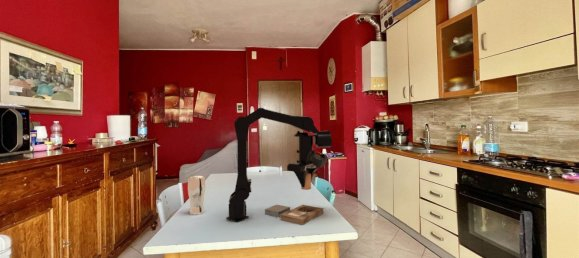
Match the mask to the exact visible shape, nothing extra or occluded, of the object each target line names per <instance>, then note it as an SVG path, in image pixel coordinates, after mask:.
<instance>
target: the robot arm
mask: <svg viewBox="0 0 579 258" xmlns="http://www.w3.org/2000/svg"><path fill="white" fill-rule="evenodd" d="M260 119H265V120H268V121H273V122H277V123H281V124H287V125H289V126H291V127H294V128H295V129H297V131H296V132H295V133H294V134H293V137H297V138H298V149H297V150H296V153H297V154H298V160H296V162H291V163H288V164H287V165H286V171H287V172H292V173H294V175H295V176H296V178H297V180H298V182H299V184H300V187H301V186H302V187H305V178H306V174H307V173H311V182H312V180H313V177H314V174H315V172H316V171H317V170H319V168H320V169H321V168H322V167H323V168H325V165H326V163H328V156H327V154H326V153H322V154H317V153H316V150H315V149H314V146H315V147H316V148H331V147H332V144H333V139H332V134H331V130H323V131H322V130H318V129H317V127H316V126H315V121H314V120H313V117H310V116H304V115H291V114H287V113H283V112H278V111H274V110H270V109H267V108H264V107H258V108H257V109H256V110H253V112H250V113H249V114H247V115H245V116H239V117H237V118H235V120H234V124H233V126H234V131H235V134H236V141H237V143H236V144H237V146H236V147H237V154H236V155H237V166H236V167H237V171H236V172H237V176H236V177H237V178H236V182H235V188H234V191H233V192H232V193H231V194H230V196H229V200H228V216H227V217H225V219H226V220H228V221H232V222H237V223H239V222H240V221H244V220H245V219H248V218H250V216H249V215H247V204H246V201H247V199H248V198H249V196H250V193H252V178H248V167H247V166H248V158H247V157H248V155H247V154H248V152H247V151H248V145H247V144H248V141H247V140H248V137H249V129H250V126H251V125H252V124H253V123H255V122H257V121H259V120H260ZM301 131H303V132H301ZM309 133H310V134H309Z"/></svg>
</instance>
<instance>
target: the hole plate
mask: <svg viewBox="0 0 579 258" xmlns="http://www.w3.org/2000/svg"><path fill="white" fill-rule="evenodd" d="M322 214H324V208H322V207H319V206H314V205H312V206H311V205H308V204H307V205H306V204H301V205H299V206H297V207H294V208H292V209H290V211H287V212H285V213H283V214H281V215H280V218H279V219H280V221H283V222H288V223H292V224H296V225H300V226H303V225H305V224H306V223H309V222H311V221H312V220H314V219H317V218H318V217H319V216H321V215H322Z"/></svg>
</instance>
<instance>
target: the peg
mask: <svg viewBox="0 0 579 258" xmlns="http://www.w3.org/2000/svg"><path fill="white" fill-rule="evenodd" d="M300 189H301V190H303V191H304V190H305V191H307V190H311V189H312V181H311V173H307V174H306V178H305V187H302V186H301V185H300Z"/></svg>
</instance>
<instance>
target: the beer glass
mask: <svg viewBox="0 0 579 258" xmlns="http://www.w3.org/2000/svg"><path fill="white" fill-rule="evenodd" d="M205 179H206V177H205V176H204V175H190V176H188V179H187V194H188V198H189V204H190V206H189V214H190V215H201V214H204V213H205V205H204V202H205V193H206V180H205Z"/></svg>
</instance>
